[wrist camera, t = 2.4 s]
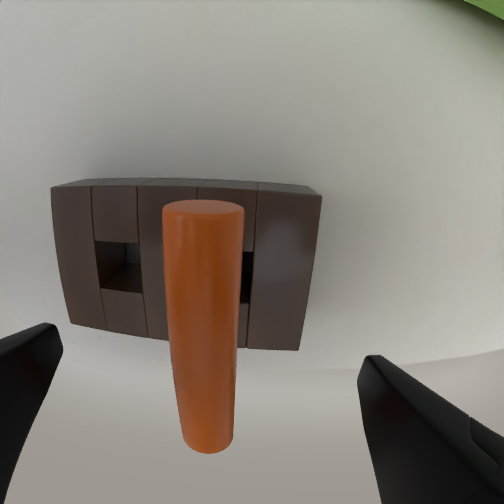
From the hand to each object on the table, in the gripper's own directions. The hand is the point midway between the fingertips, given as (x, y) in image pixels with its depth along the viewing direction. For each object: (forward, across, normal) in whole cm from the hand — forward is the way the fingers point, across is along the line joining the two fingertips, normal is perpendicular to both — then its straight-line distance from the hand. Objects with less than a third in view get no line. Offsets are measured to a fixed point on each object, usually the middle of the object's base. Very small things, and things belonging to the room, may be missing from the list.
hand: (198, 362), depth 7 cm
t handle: (+9, 0, 0) cm, 9 cm away
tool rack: (+9, +2, 0) cm, 10 cm away
